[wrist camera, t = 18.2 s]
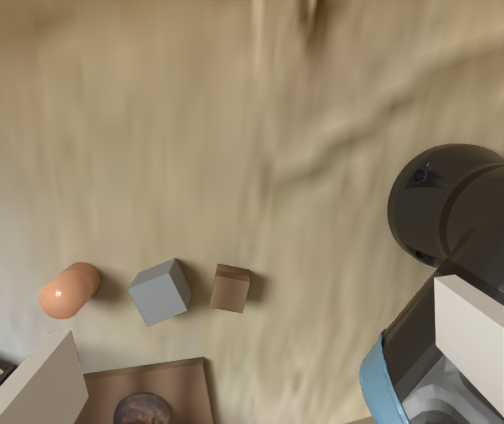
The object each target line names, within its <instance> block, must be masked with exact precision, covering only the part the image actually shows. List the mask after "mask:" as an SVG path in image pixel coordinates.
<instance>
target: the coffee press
mask: <svg viewBox="0 0 504 424" xmlns="http://www.w3.org/2000/svg"><path fill="white" fill-rule="evenodd" d="M17 368H18V367H17V366H16V365H15V364H14V365H12V366H11V367H9V368H8V369H7V370H6V371H3V370H1V369H0V386H1V385H2V384H3V383H4V382H5V381H6V380H7V378H8V377H9V376H10V375H11V374H12V373H13V372H14V371H15V370H16V369H17Z"/></svg>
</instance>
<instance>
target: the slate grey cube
mask: <svg viewBox="0 0 504 424" xmlns="http://www.w3.org/2000/svg"><path fill="white" fill-rule="evenodd" d="M127 290H128V291H129V293H130V295H131V297H132V299H133V301H134V303H135V305H136V307H137V308H138V310H139V312H140V314H141V316H142V318H143V320H144V322H145V324H146V325H147V327H148V326H151V325H153V324H156V323H158V322H161V321H163V320H166V319H168V318H171V317H173V316H176V315H178V314H180V313H183V312H185V311H187V310H188V307H189V303H190V299H191V295H192V291H191V289H190V287H189V285H188V283H187V280H186V278H185V276H184V274H183V272H182V270H181V268H180V266H179V264H178V262H177V260H176V258H174V259H172V260H169V261H167V262H164V263H162V264H159V265H157V266H155V267H152V268H150V269H147V270H145V271H142V272H140V273H138V275H137V276H136V278H135V279H134V281H133V282H132V284H131V285H130V287H129V288H128V289H127Z"/></svg>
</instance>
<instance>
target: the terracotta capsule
mask: <svg viewBox="0 0 504 424" xmlns="http://www.w3.org/2000/svg"><path fill="white" fill-rule="evenodd" d="M100 282H101V278H100V274H99V272H98V271H97V269H96V268H95V267H94V266H92V265H90V264H88V263H84V262H78V263H74V264H72V265H71V266H69V267H68V268H67V269H66V270H64V271H63V272H62V273H61V274H59V275H58V276H57V277H56V278H54V279H53V280H52V281H51V282H50V283H48V284H47V285H46V286H45V287H44V288H43V289H42V290H41V292H40V295H39V302H40V306H41V308H42V309H43V311H44V312H45V313H46V314H47V315H49V316H51V317H53V318H56V319H68V318H71V317H73V316H74V315H75V314H76V313H77V312H78V311H79V310H80V309H81V308H82V306H83V305H84V304H85V303H86V302H87V301H88V300H89V298H90V297H91V296H92V295H93V294H94V293H95V292H96V290H97V289H98V288H99V286H100Z"/></svg>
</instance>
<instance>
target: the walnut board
mask: <svg viewBox="0 0 504 424" xmlns="http://www.w3.org/2000/svg"><path fill="white" fill-rule="evenodd" d="M83 377H84V380H85V384H86V388H87V392H88V395H89V397H88V399H87V401H86V402H85V404H84V406H83V408H82V410H81V412H80V413H79V415H78V417H77V419H76V421H75V422H74V424H113V416H114V412H115V409H116V407H117V405H118V404H119V402H120V401H121V400H122V399H123V398H125V397H127V396H129V395H133V394H140V393H149V394H157V395H158V396H159V397H160V398H161V399H162V400H163V401H164V402H165V404H166V405H167V407H168V408H169V410H170V414H171V424H215V421H214V415H213V409H212V404H211V398H210V392H209V387H208V381H207V376H206V370H205V364H204V359H203V357H199V358H192V359H185V360H178V361H172V362H165V363H158V364H151V365H144V366H137V367H130V368H123V369H116V370H109V371H102V372H95V373H88V374H83Z"/></svg>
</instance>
